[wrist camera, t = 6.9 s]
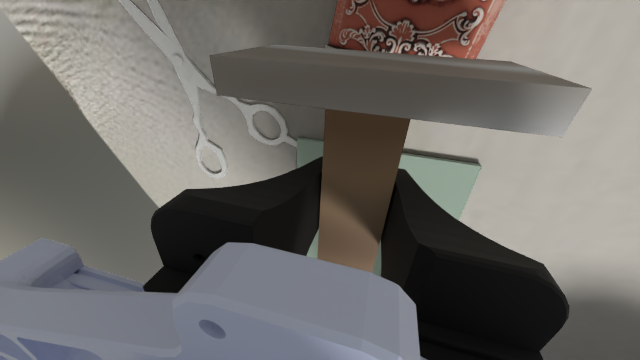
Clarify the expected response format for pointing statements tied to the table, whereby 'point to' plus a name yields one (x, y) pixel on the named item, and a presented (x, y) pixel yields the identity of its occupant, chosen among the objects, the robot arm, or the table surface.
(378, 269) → the tool mat
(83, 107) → the table surface
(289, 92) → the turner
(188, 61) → the scissors
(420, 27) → the lighter
